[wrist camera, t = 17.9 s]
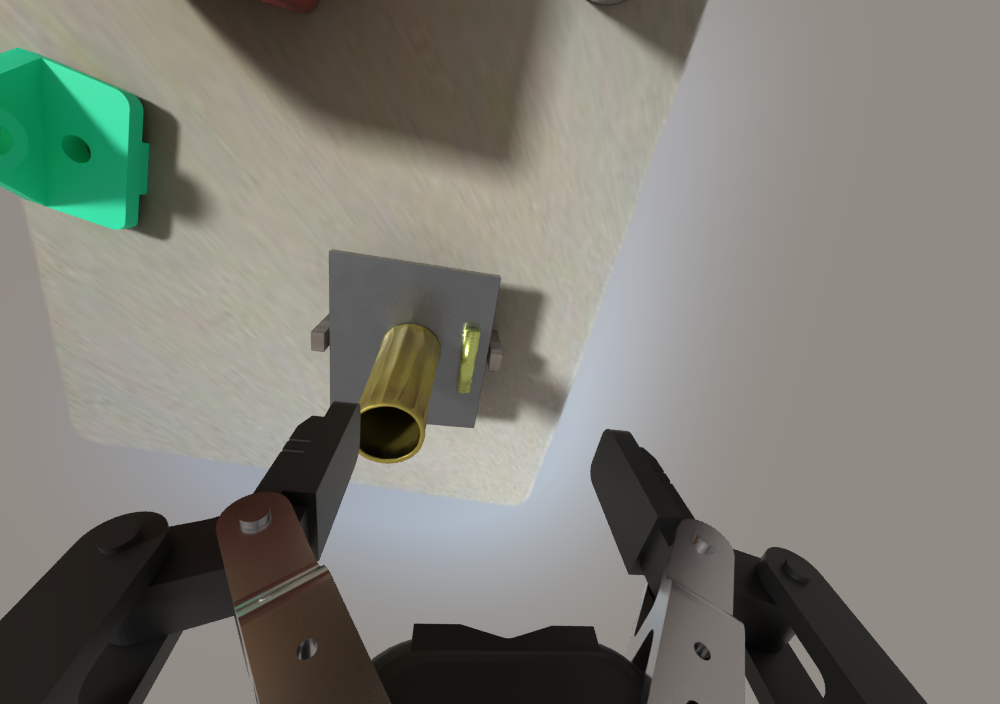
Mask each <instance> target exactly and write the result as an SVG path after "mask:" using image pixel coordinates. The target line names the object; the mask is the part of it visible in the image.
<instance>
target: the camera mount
mask: <svg viewBox="0 0 1000 704" xmlns="http://www.w3.org/2000/svg"><path fill="white" fill-rule="evenodd" d="M142 132H143V106H142V104H141V102H140V101H139V99H138V98H137V97H136V96H135V95H133V94H132V93H130V92H127V91H125V90H122V89H120V88H118V87H115V86H113V85H111V84H108V83H106V82H103V81H101V80H99V79H96V78H94V77H92V76H89V75H87V74H84V73H82V72H80V71H77V70H75V69H73V68H70V67H68V66H65V65H63V64H61V63H58V62H56V61H54V60H51V59H49V58H46V57H44V56H42V55H39V54H37V53H34V52H30V51H27V50H24V49H20V48H15V49H12V50H10V51H7V52H4V53H1V54H0V186H1V187H3V188H5V189H7V190H9V191H11V192H13V193H15V194H16V195H18V196H20V197H22V198H24V199H26V200H29V201H32V202H35V203H38V204H40V205H43V206H46V207H49V208H52V209H55V210H58V211H61V212H64V213H67V214H70V215H73V216H76V217H79V218H82V219H85V220H87V221H90V222H93V223H96V224H99V225H102V226H105V227H108V228H111V229H115V230H117V229H125V228H132V227H135V226H136V225H137V223H138V211H139V195H143V194H147V180H148V163H149V145H150V144H149V143H146V142H144V141H142ZM87 145H88V146H89V148H90V151H91V156H90V154H89V152H88V150H87Z"/></svg>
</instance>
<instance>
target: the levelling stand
mask: <svg viewBox="0 0 1000 704" xmlns="http://www.w3.org/2000/svg"><path fill="white" fill-rule="evenodd" d="M329 345H330V313H329V314H328V315H327V316H326V317H325V318H324V319H323V320H322V321H321V322H320V323H319V324H318V325H317V326H316V327H315V328H314V329H313V330H312V331H311V350H312V351H321V352H324V351H325V350H326V349H327V348H328V346H329ZM502 358H503V353H502V349H501V345H500V341H499V337H498V333H497V331H491V337H490V342H489V348H488V353H487V362H488V369H489V371H497V372H500V368H501V363H502Z"/></svg>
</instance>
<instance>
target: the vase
mask: <svg viewBox="0 0 1000 704" xmlns="http://www.w3.org/2000/svg"><path fill="white" fill-rule="evenodd" d="M440 355H441V349H440V345H439V342H438V340H437V338H436V337H435V336H434V335H433V334H432V333H431V332H430V331H429V330H428V329H426V328H424V327H422V326H419V325H415V324H403V325H399V326H396V327H394V328H392V329H391V330H389V331H388V332H387V333H386V334H385V336H384V337H383V339H382V342H381V346H380V350H379V353H378V356H377V358H376V361H375V363H374V365H373V368H372V371H371V374H370V376H369V379H368V381H367V384H366V386H365V389H364V392H363V394H362V396H361V398H360V400H359V404H360V407H361V415H360V447H359V454H360V455H361V456H363V457H365V458H367V459H369V460H372V461H375V462H379V463H387V464H389V463H398V462H402V461H405V460H407V459H409V458H411V457H412V456H414V455H415V454H416V453H417V452H418V451H419V450H420V448H421V446H422V444H423V442H424V438H425V428H426V424H427V419H428V410H429V403H430V397H431V393H432V387H433V383H434V379H435V374H436V369H437V364H438V362H439V359H440Z"/></svg>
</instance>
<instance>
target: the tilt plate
mask: <svg viewBox="0 0 1000 704" xmlns="http://www.w3.org/2000/svg"><path fill="white" fill-rule="evenodd" d="M500 281H501V277H500V276H499V275H493V274H487V273H480V272H474V271H467V270H461V269H455V268H448V267H442V266H435V265H429V264H423V263H416V262H410V261H403V260H397V259H390V258H384V257H378V256H371V255H365V254H358V253H352V252H346V251H339V250H333V249H332V250H331V251H329V306H330V406H331V404H332V403H333V402H334V401H340V402H350V403H359V400H360V398H361V396H362V394H363V392H364V389H365V386H366V384H367V381H368V379H369V376H370V374H371V371H372V368H373V365H374V363H375V361H376V358H377V356H378V353H379V350H380V346H381V342H382V339H383V337H384V336H385V334H386V333H387V332H388V331H389V330H391V329H392V328H394V327H396V326H399V325H403V324H415V325H419V326H422V327H424V328H426V329H428V330H429V331H430V332H431V333H432V334H433V335H434V336H435V337H436V338H437V340H438V342H439V345H440V349H441V355H440V359H439V362H438V364H437V369H436V374H435V379H434V383H433V387H432V393H431V397H430V403H429V410H428V419H427V424H432V425H443V426H455V427H466V428H474V425H475V420H476V414H477V409H478V403H479V398H480V392H481V387H482V381H483V375H484V370H485V364H486V359H487V353H488V348H489V342H490V337H491V331H492V326H493V320H494V314H495V309H496V303H497V298H498V292H499V287H500Z"/></svg>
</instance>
